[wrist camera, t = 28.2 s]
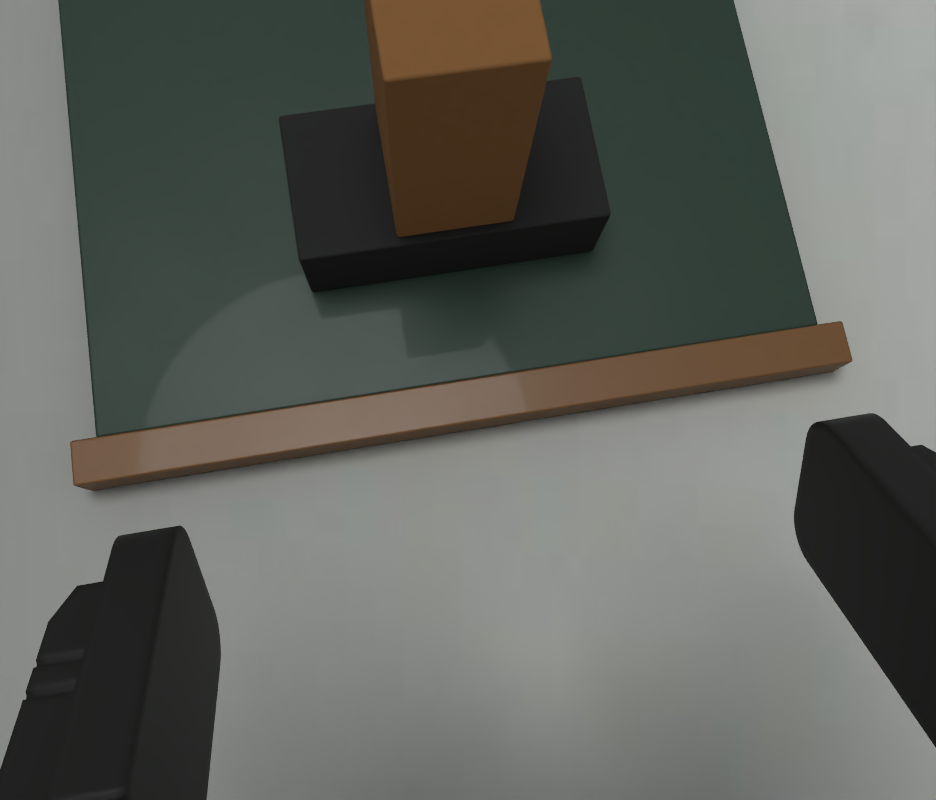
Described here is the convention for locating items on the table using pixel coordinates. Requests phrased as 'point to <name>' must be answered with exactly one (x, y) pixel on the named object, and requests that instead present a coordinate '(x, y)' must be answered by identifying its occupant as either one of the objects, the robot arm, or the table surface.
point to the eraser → (446, 151)
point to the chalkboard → (418, 298)
